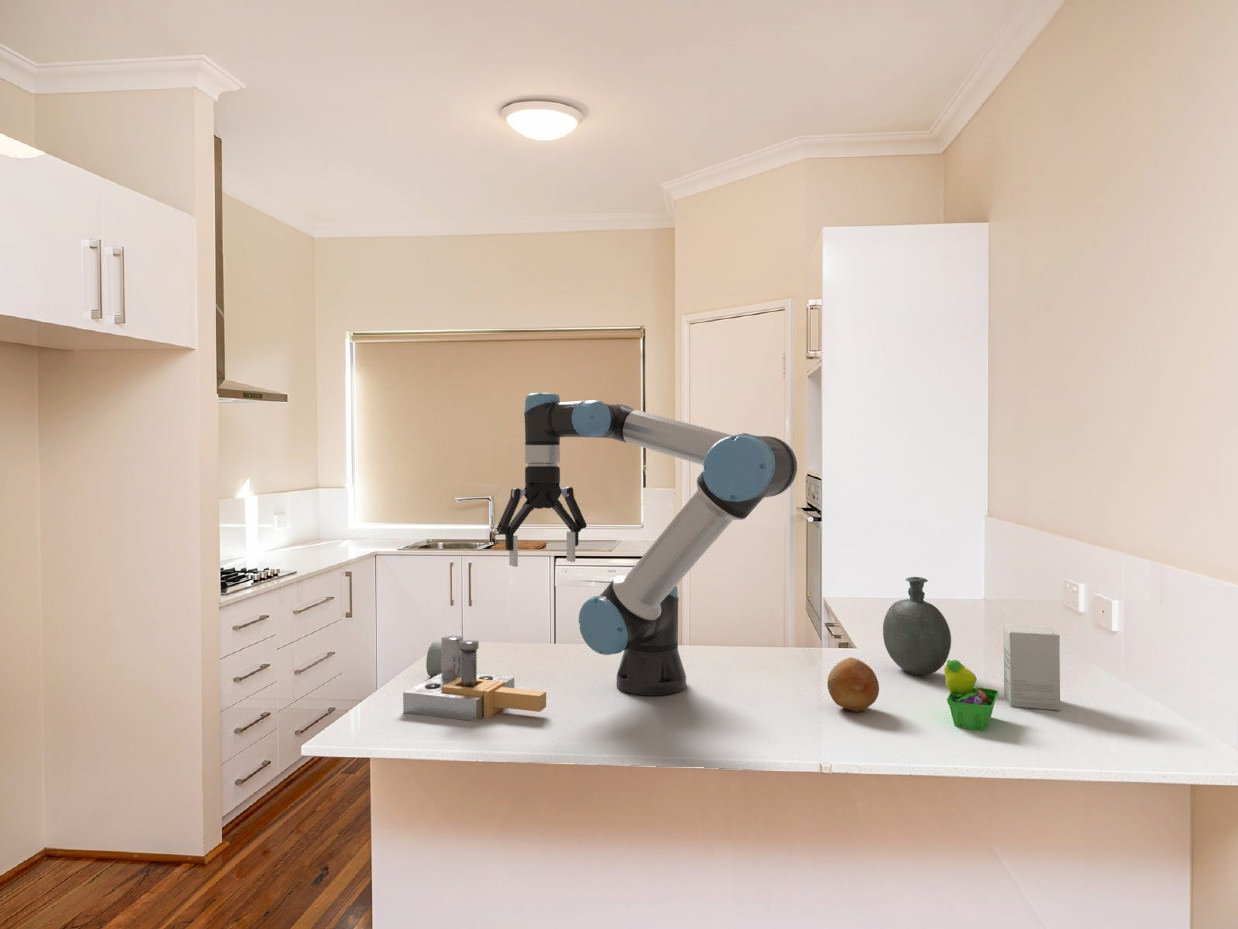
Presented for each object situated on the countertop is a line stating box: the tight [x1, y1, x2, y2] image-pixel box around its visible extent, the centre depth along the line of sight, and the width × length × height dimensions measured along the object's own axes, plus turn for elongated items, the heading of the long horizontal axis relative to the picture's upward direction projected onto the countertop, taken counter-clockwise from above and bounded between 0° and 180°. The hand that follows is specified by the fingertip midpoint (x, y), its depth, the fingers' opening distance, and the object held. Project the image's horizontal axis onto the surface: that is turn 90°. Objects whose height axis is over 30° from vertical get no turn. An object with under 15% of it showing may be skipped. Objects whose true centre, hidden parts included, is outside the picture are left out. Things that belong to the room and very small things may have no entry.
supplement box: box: [1003, 623, 1061, 711], centre depth 156 cm, size 9×9×15 cm
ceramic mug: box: [425, 641, 442, 678], centre depth 177 cm, size 11×8×8 cm
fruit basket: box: [943, 659, 999, 732], centre depth 145 cm, size 11×9×11 cm
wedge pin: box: [459, 639, 480, 688], centre depth 153 cm, size 4×4×13 cm
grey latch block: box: [402, 635, 515, 722], centre depth 156 cm, size 16×16×12 cm
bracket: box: [442, 677, 547, 718], centre depth 151 cm, size 20×7×5 cm, turn 71°
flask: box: [882, 576, 952, 676], centre depth 177 cm, size 12×17×22 cm
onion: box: [827, 657, 880, 713], centre depth 152 cm, size 10×10×10 cm
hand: (542, 563), depth 167 cm, fingers open, 13 cm apart
